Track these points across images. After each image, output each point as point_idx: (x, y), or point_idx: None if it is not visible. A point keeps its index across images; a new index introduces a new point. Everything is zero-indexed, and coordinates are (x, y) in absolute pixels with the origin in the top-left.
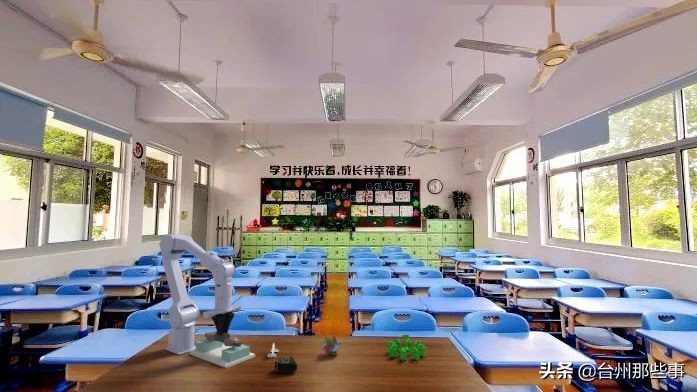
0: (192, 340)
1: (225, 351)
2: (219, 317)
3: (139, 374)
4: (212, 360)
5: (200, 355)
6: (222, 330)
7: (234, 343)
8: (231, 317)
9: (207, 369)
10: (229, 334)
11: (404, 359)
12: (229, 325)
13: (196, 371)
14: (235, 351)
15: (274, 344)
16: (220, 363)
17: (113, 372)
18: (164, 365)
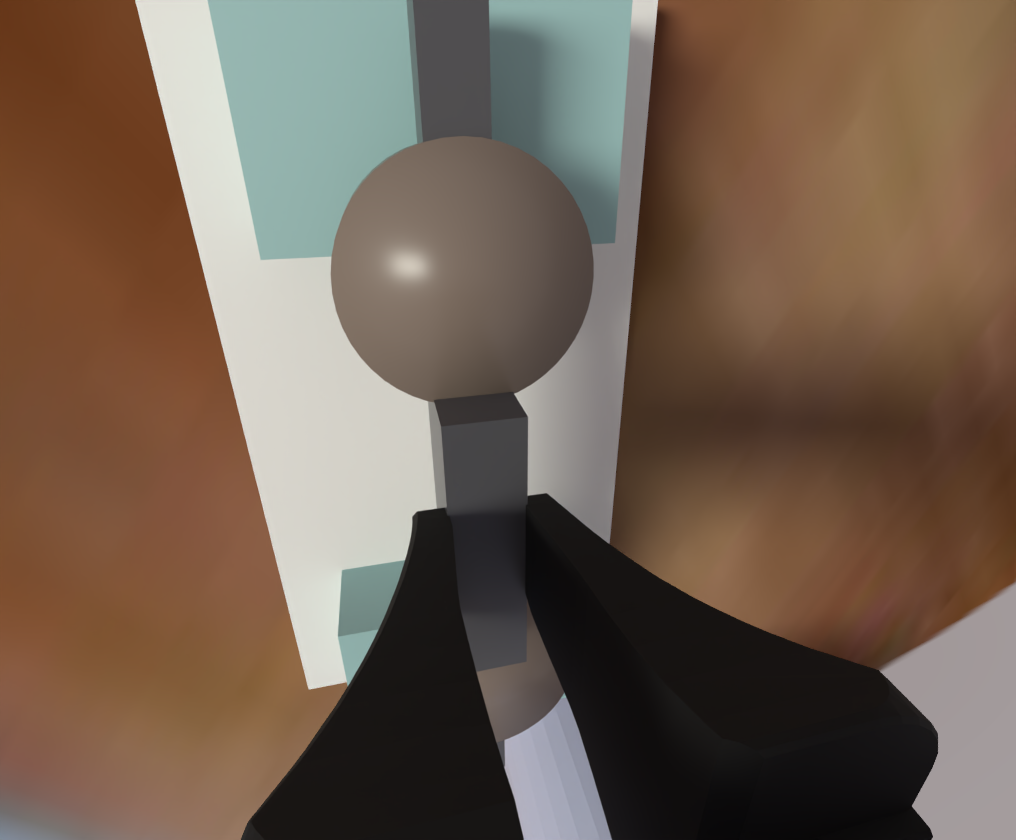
0: (560, 746)
1: (616, 150)
2: (893, 764)
3: (966, 485)
4: (628, 298)
5: (613, 494)
6: (559, 532)
7: (486, 128)
8: (387, 763)
9: (751, 168)
10: (443, 420)
11: None
12: (404, 597)
13: (820, 214)
14: None
15: None
16: (642, 134)
17: (971, 603)
18: (815, 524)
